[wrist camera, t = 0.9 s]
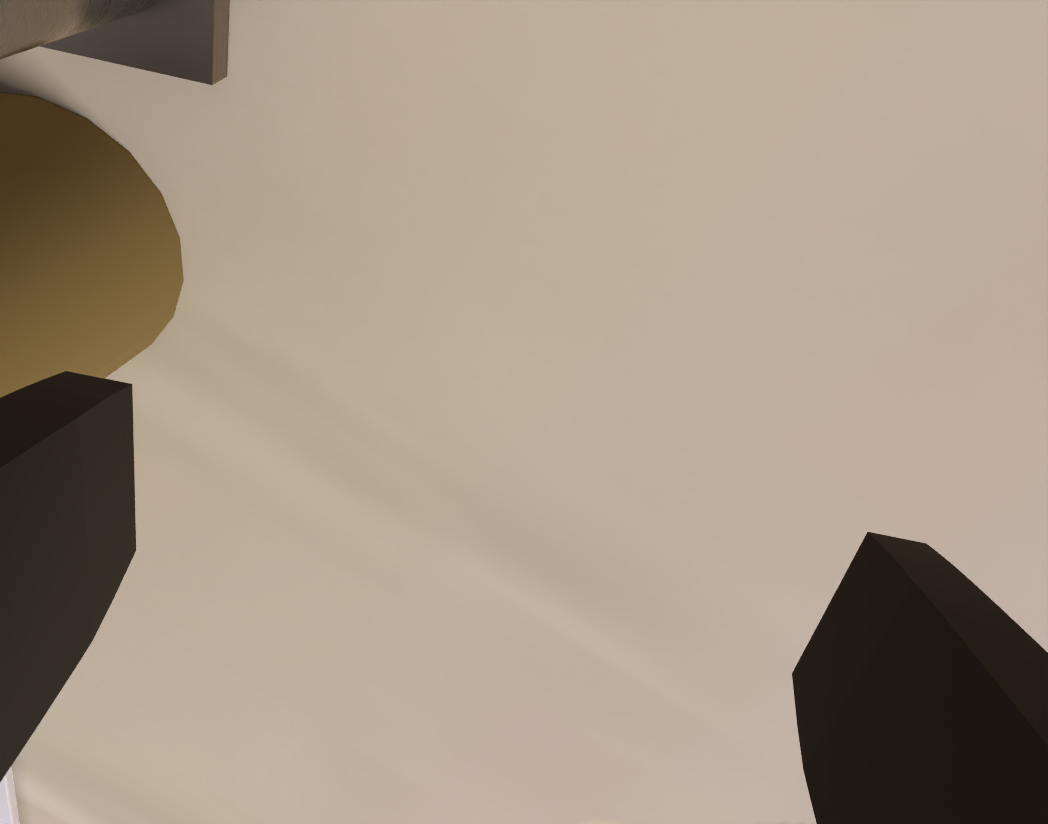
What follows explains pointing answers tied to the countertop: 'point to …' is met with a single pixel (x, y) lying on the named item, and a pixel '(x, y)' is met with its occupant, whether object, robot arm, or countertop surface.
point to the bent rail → (125, 33)
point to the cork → (77, 248)
